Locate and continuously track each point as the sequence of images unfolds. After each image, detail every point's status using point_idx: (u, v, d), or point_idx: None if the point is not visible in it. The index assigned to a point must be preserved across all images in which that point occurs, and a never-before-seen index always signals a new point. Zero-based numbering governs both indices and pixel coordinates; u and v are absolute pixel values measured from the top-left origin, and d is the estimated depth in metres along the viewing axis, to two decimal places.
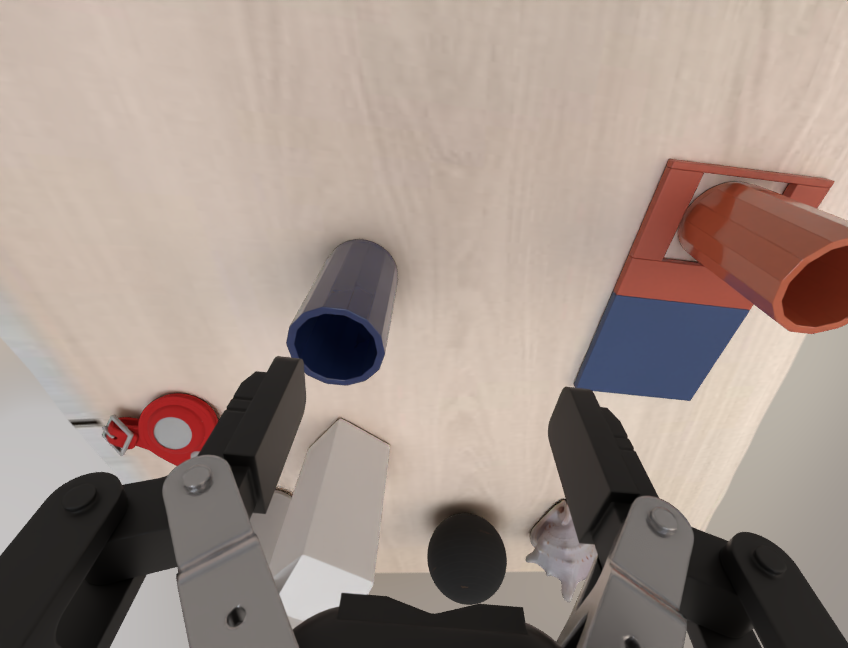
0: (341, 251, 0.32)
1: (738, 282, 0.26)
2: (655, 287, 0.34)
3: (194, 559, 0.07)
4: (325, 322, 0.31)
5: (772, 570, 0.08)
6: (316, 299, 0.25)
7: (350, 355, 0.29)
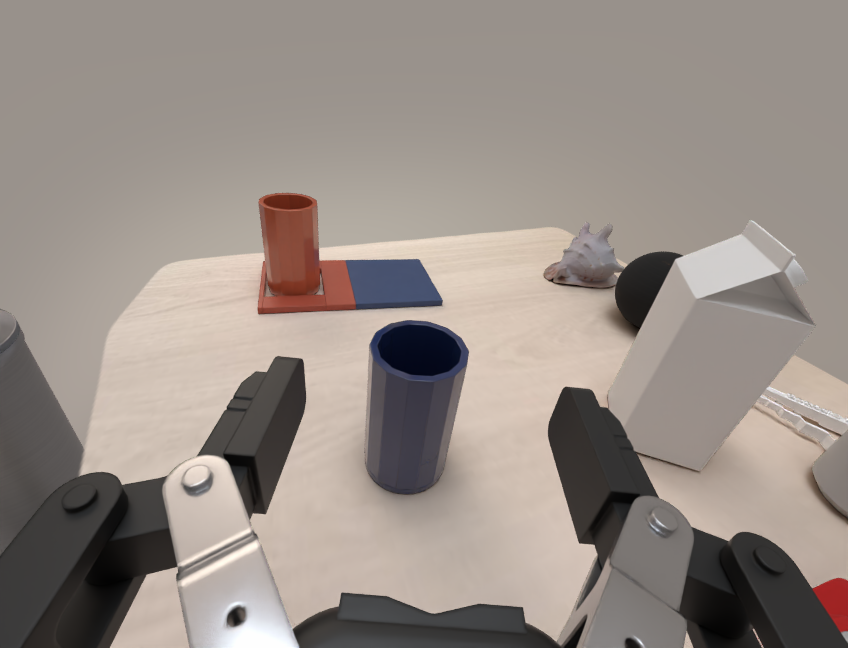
0: (373, 461, 0.28)
1: (305, 237, 0.45)
2: (343, 291, 0.50)
3: (194, 559, 0.07)
4: None
5: (772, 570, 0.08)
6: (380, 383, 0.24)
7: (449, 371, 0.28)
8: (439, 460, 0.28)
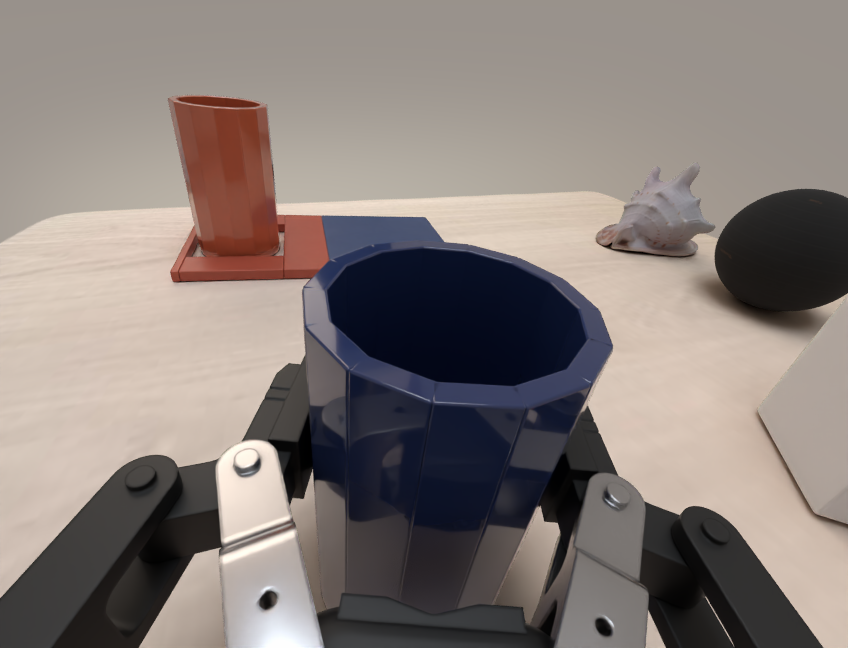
0: (332, 595, 0.11)
1: (248, 159, 0.28)
2: (314, 252, 0.33)
3: (236, 538, 0.07)
4: None
5: (719, 541, 0.08)
6: (329, 409, 0.07)
7: (524, 371, 0.11)
8: (496, 593, 0.11)
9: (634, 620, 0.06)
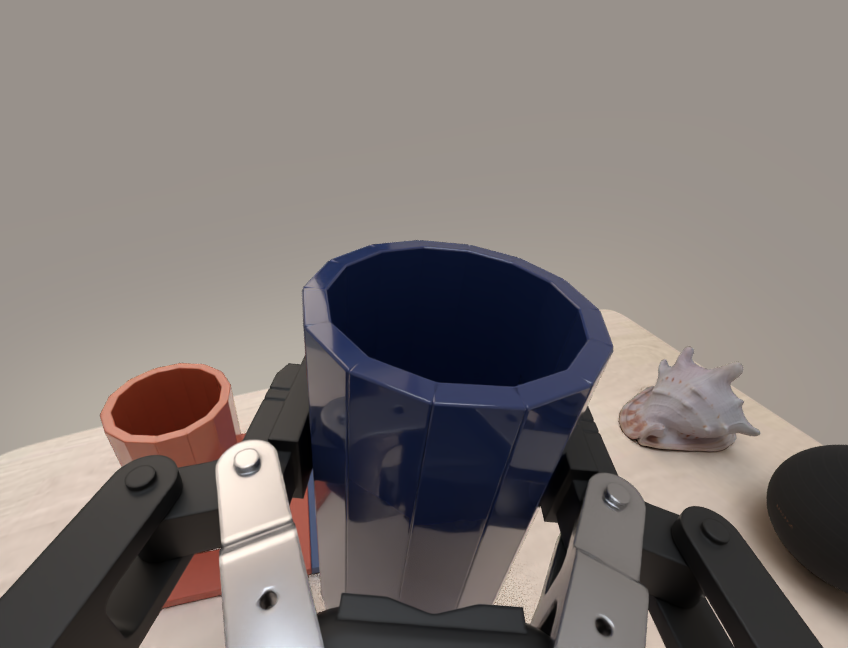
0: (332, 596, 0.11)
1: None
2: None
3: (236, 538, 0.07)
4: None
5: (719, 541, 0.08)
6: (329, 410, 0.07)
7: (524, 371, 0.11)
8: (497, 594, 0.11)
9: (634, 620, 0.06)
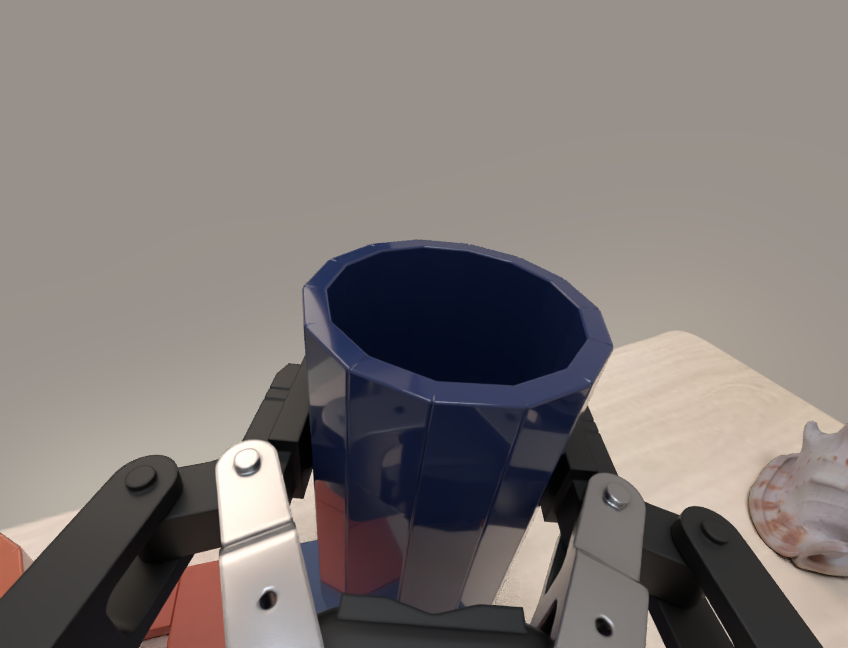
0: (333, 595, 0.11)
1: None
2: None
3: (236, 538, 0.07)
4: None
5: (719, 541, 0.08)
6: (329, 408, 0.07)
7: (524, 370, 0.11)
8: (497, 593, 0.11)
9: (634, 620, 0.06)
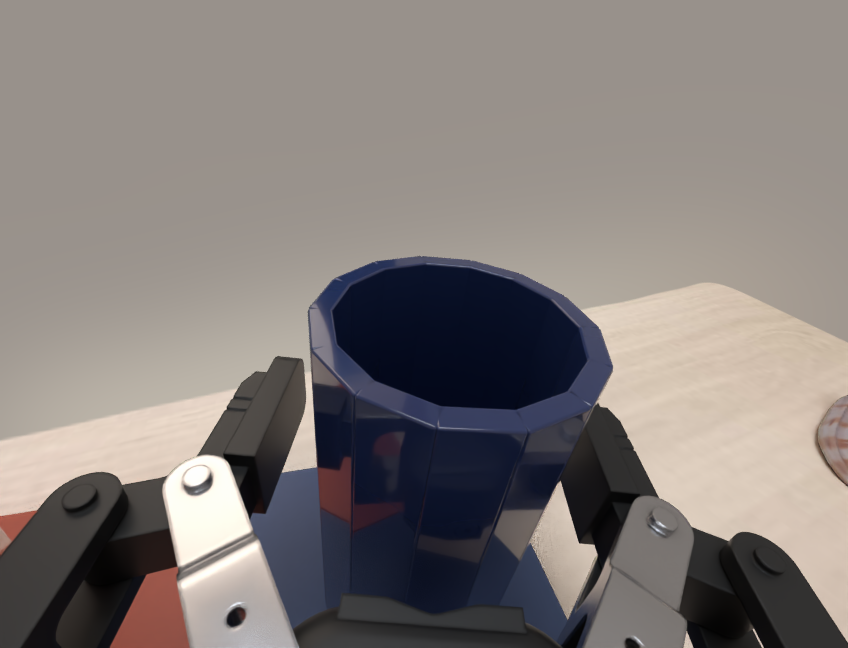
0: (337, 606, 0.12)
1: None
2: None
3: (194, 559, 0.07)
4: None
5: (772, 570, 0.08)
6: (335, 430, 0.07)
7: (526, 384, 0.11)
8: None
9: (668, 647, 0.06)
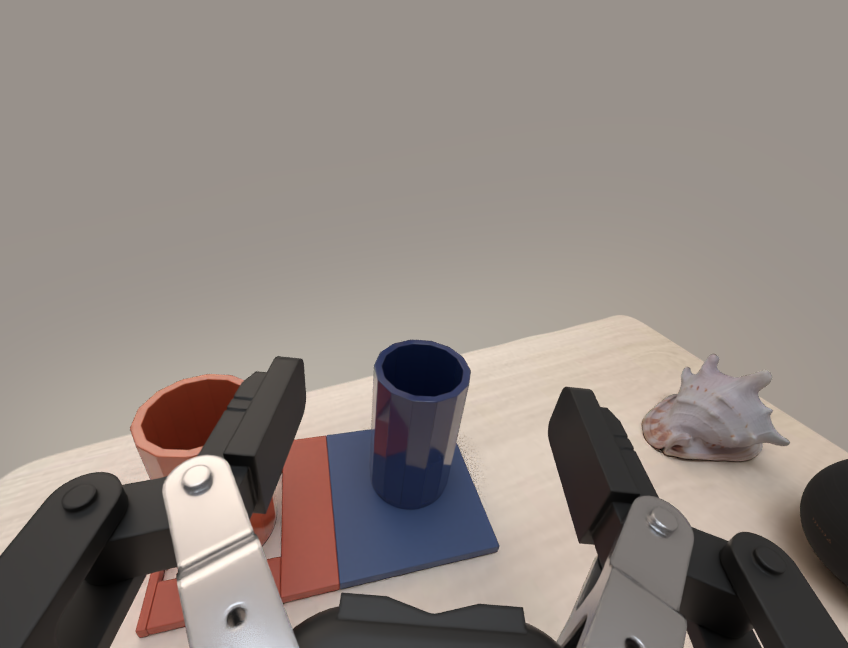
0: (378, 477, 0.29)
1: None
2: (318, 540, 0.27)
3: (194, 559, 0.07)
4: None
5: (772, 570, 0.08)
6: (384, 403, 0.25)
7: (452, 389, 0.29)
8: (442, 476, 0.29)
9: (668, 647, 0.06)
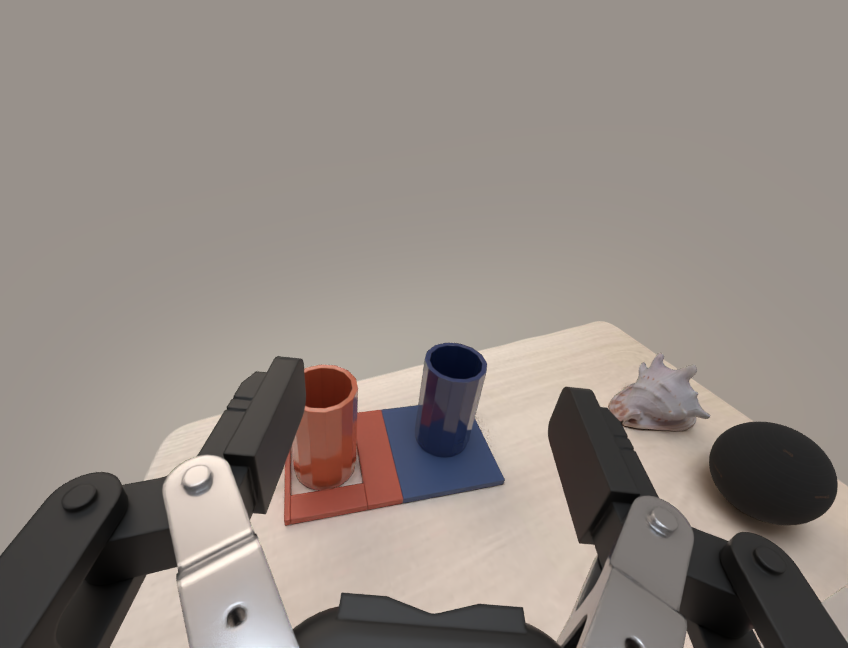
0: (423, 435, 0.43)
1: (344, 430, 0.36)
2: (386, 474, 0.41)
3: (194, 559, 0.07)
4: None
5: (772, 570, 0.08)
6: (432, 383, 0.39)
7: (473, 376, 0.43)
8: (466, 434, 0.43)
9: (668, 647, 0.06)
